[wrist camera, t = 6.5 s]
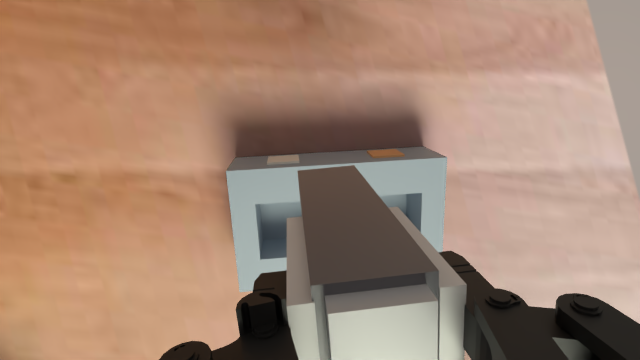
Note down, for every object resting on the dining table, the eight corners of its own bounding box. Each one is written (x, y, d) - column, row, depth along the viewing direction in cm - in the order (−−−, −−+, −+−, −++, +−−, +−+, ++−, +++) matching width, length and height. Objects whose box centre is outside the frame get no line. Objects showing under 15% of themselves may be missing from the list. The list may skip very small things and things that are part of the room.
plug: (302, 224, 23) (323, 416, 10) (297, 170, 22) (312, 303, 9) (356, 218, 23) (449, 399, 10) (354, 165, 22) (451, 287, 9)
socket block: (246, 262, 41) (239, 292, 35) (235, 155, 38) (225, 168, 32) (420, 248, 42) (441, 274, 37) (423, 144, 39) (447, 155, 33)
